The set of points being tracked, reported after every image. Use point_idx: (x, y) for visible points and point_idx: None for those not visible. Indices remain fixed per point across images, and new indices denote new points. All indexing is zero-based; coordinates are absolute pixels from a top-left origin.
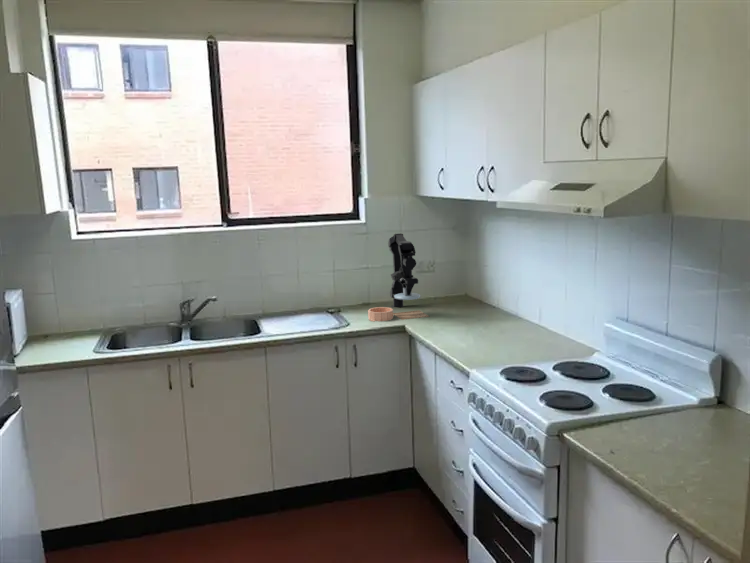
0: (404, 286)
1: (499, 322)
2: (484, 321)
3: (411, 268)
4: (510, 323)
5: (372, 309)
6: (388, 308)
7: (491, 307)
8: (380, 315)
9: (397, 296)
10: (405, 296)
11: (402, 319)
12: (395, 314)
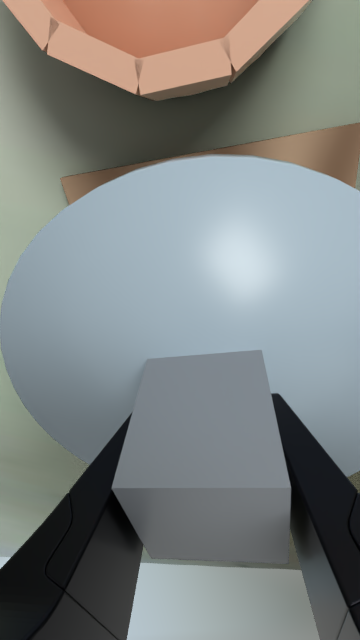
0: (316, 549)
1: (29, 521)
2: (43, 502)
3: None
4: (17, 532)
5: None
6: (241, 19)
7: (246, 563)
8: None
9: (166, 225)
10: (130, 356)
11: (65, 186)
12: (283, 154)
